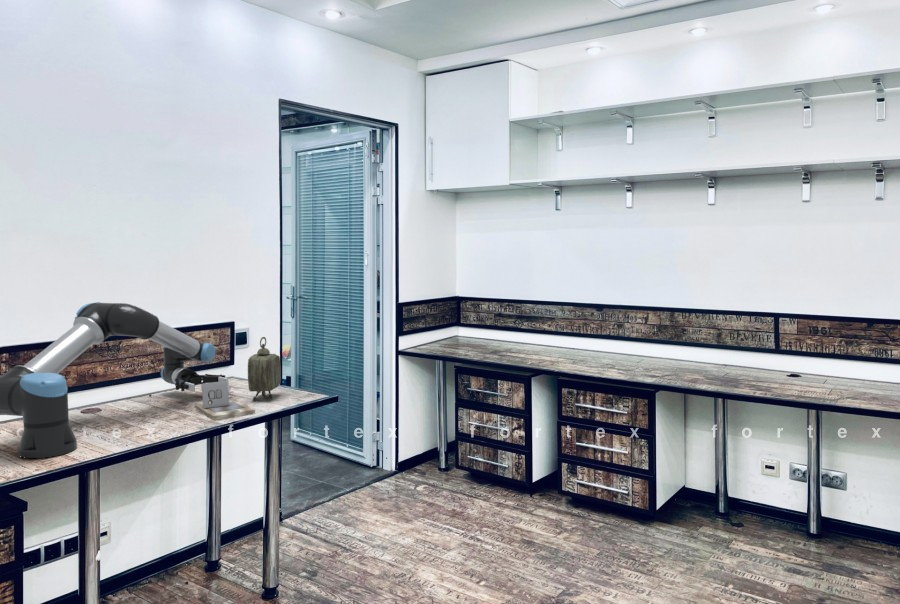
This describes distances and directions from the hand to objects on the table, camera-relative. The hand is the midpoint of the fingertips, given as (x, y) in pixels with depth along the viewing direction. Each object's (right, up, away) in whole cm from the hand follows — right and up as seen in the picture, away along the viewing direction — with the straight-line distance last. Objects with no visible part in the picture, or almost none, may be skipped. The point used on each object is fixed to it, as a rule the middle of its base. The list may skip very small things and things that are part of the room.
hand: (211, 385), depth 248 cm
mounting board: (+7, -9, -6) cm, 13 cm away
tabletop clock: (+17, -7, +14) cm, 23 cm away
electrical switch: (+3, -7, -5) cm, 9 cm away
